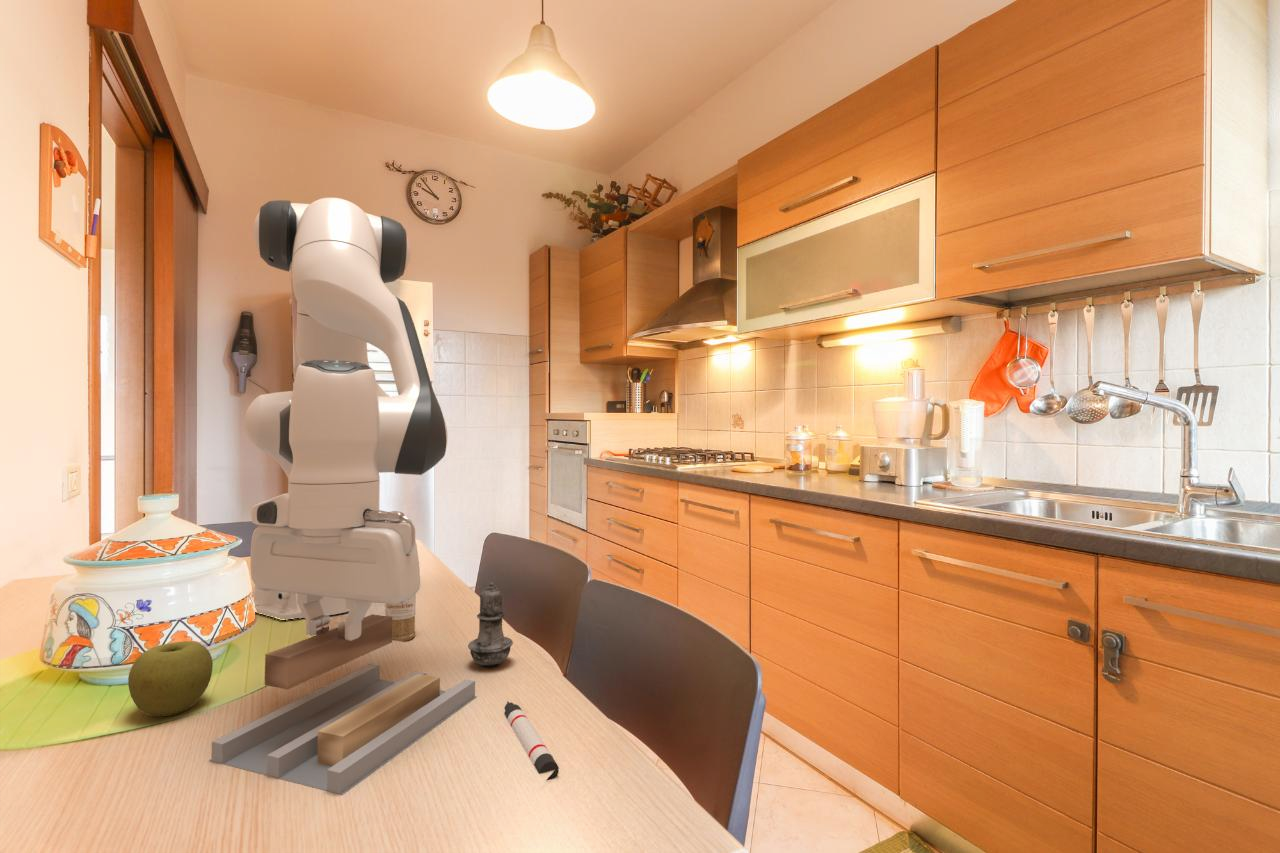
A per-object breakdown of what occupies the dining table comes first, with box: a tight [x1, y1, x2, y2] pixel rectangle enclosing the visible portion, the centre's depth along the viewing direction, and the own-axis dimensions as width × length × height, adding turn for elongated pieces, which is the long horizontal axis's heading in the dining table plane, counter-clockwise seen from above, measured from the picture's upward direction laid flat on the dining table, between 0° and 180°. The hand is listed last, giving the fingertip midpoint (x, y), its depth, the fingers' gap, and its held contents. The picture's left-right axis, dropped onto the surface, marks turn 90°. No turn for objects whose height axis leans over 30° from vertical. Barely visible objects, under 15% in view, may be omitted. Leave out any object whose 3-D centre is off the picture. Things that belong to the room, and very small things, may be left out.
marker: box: [504, 700, 560, 781], centre depth 61 cm, size 15×2×2 cm, turn 27°
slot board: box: [208, 663, 478, 796], centre depth 63 cm, size 16×20×3 cm
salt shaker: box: [467, 580, 514, 669], centre depth 80 cm, size 6×6×12 cm
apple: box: [127, 640, 214, 717], centre depth 68 cm, size 8×8×7 cm
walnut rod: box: [264, 614, 393, 690], centre depth 64 cm, size 3×14×3 cm, turn 161°
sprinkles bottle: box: [384, 593, 417, 642], centre depth 92 cm, size 5×5×14 cm
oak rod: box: [317, 674, 441, 767], centre depth 62 cm, size 3×14×3 cm, turn 161°
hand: (333, 636), depth 64 cm, fingers closed on walnut rod, 3 cm apart
